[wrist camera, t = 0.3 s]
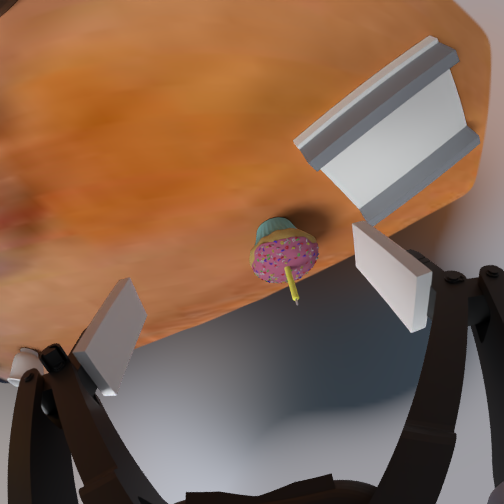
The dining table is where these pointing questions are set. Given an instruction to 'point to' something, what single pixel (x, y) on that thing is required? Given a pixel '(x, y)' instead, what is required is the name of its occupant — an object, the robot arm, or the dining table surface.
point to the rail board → (393, 132)
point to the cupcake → (283, 253)
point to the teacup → (24, 365)
